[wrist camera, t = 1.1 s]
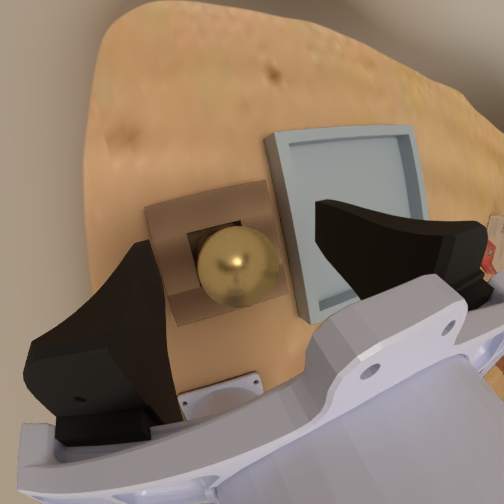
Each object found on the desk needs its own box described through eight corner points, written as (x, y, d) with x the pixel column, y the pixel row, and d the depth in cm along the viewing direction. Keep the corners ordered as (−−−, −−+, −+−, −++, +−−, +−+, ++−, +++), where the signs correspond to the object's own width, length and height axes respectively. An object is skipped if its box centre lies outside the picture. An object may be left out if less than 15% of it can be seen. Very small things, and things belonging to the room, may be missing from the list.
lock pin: (246, 267, 25) (285, 294, 17) (195, 282, 24) (210, 317, 16) (234, 215, 24) (270, 218, 16) (181, 229, 23) (189, 238, 15)
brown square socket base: (277, 285, 26) (288, 293, 23) (176, 315, 23) (177, 326, 21) (255, 182, 24) (265, 179, 21) (146, 208, 22) (144, 207, 19)
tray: (417, 267, 30) (432, 271, 28) (298, 316, 27) (311, 325, 24) (397, 129, 27) (412, 125, 25) (263, 139, 24) (273, 132, 21)
